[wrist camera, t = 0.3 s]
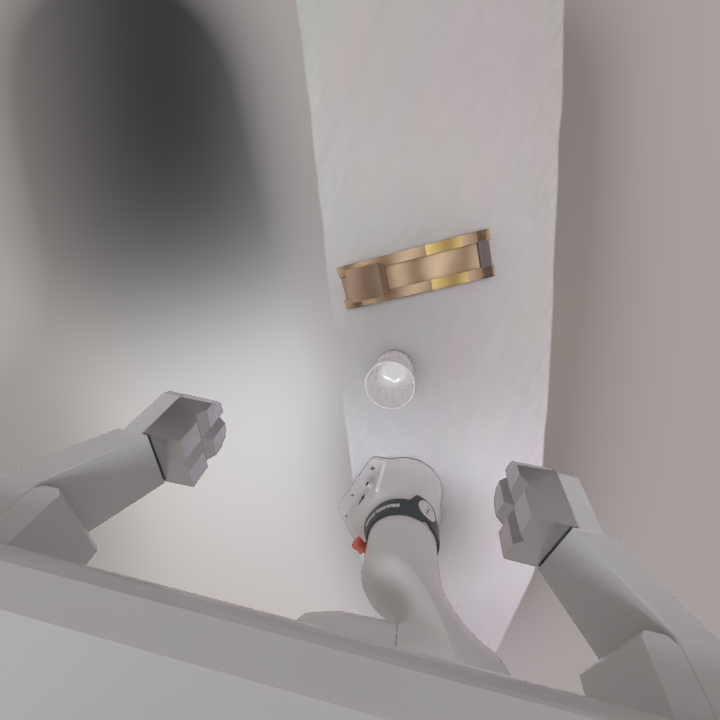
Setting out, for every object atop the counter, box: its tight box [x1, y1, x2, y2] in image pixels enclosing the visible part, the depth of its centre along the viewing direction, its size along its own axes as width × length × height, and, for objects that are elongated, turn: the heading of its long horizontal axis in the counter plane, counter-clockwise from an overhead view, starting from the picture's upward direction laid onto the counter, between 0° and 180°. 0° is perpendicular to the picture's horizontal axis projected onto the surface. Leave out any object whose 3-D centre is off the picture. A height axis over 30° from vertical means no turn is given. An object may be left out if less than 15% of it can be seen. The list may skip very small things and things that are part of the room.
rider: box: [345, 262, 390, 303], centre depth 50 cm, size 4×4×10 cm
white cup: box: [365, 351, 415, 409], centre depth 56 cm, size 8×8×10 cm
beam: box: [337, 229, 495, 309], centre depth 54 cm, size 24×7×4 cm, turn 104°
